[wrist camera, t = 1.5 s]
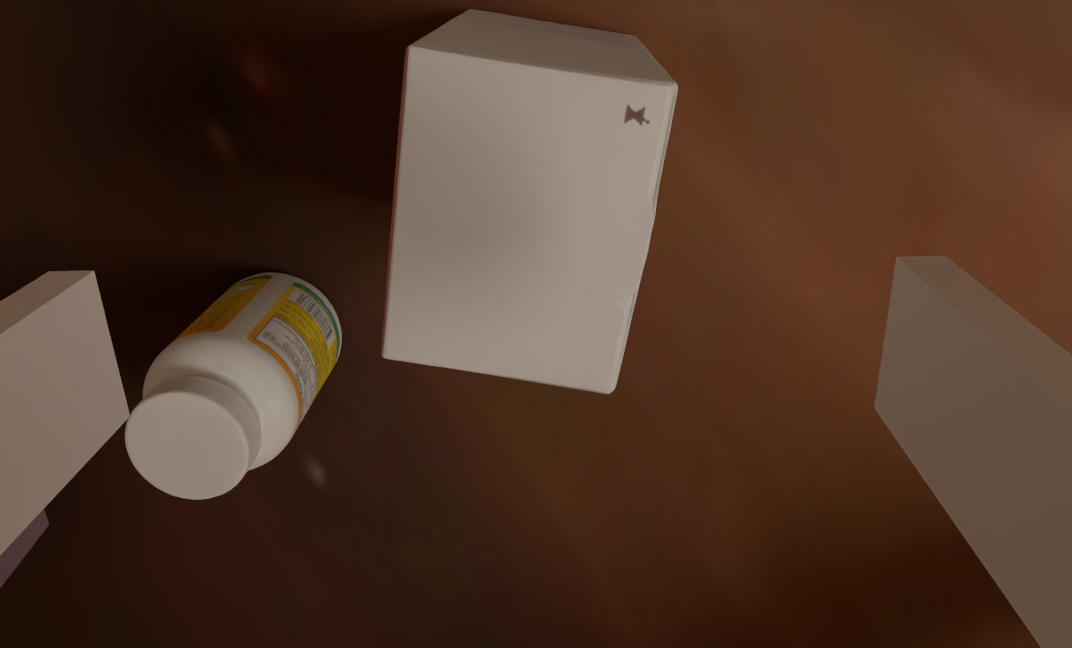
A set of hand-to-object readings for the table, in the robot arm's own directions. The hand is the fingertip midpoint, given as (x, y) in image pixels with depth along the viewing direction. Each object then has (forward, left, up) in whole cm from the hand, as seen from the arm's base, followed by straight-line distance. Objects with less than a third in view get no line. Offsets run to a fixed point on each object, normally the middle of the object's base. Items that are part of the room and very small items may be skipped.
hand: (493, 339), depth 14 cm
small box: (0, 0, -20) cm, 20 cm away
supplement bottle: (+11, +8, -20) cm, 24 cm away
